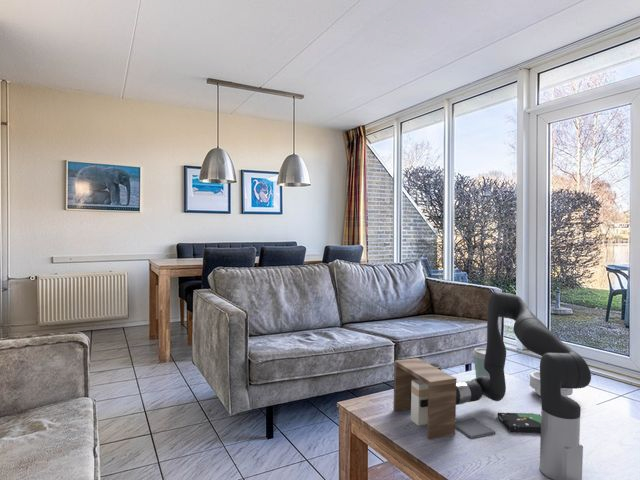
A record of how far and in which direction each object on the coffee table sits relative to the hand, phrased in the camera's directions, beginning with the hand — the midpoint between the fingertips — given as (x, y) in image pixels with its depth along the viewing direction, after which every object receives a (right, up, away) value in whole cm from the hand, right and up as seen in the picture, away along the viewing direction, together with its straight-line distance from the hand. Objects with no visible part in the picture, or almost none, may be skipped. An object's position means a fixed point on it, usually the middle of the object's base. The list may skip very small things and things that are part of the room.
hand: (414, 399), depth 140 cm
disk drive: (+38, -9, 0) cm, 39 cm away
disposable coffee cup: (+39, -8, +36) cm, 54 cm away
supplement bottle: (+13, -8, +25) cm, 29 cm away
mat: (+19, -8, -3) cm, 21 cm away
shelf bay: (+3, -8, +1) cm, 9 cm away
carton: (+2, -8, +1) cm, 8 cm away
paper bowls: (+61, -9, +25) cm, 67 cm away
